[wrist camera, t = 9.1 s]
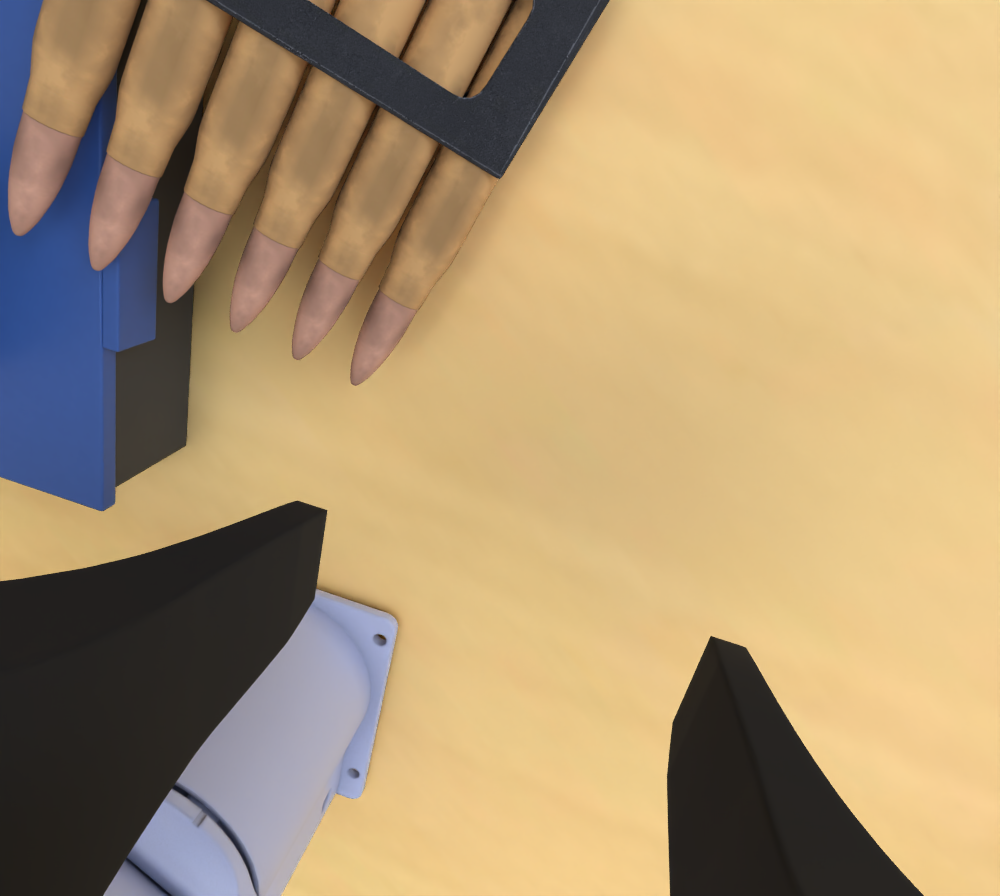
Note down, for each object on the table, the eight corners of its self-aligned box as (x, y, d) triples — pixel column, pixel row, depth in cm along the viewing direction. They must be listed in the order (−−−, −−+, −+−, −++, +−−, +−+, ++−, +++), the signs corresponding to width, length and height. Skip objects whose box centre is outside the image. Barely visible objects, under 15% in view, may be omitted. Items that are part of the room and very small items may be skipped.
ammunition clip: (622, -21, 17) (384, 411, 20) (597, -13, 18) (382, 385, 22) (136, -407, 12) (-46, 222, 16) (161, -354, 14) (-10, 208, 18)
